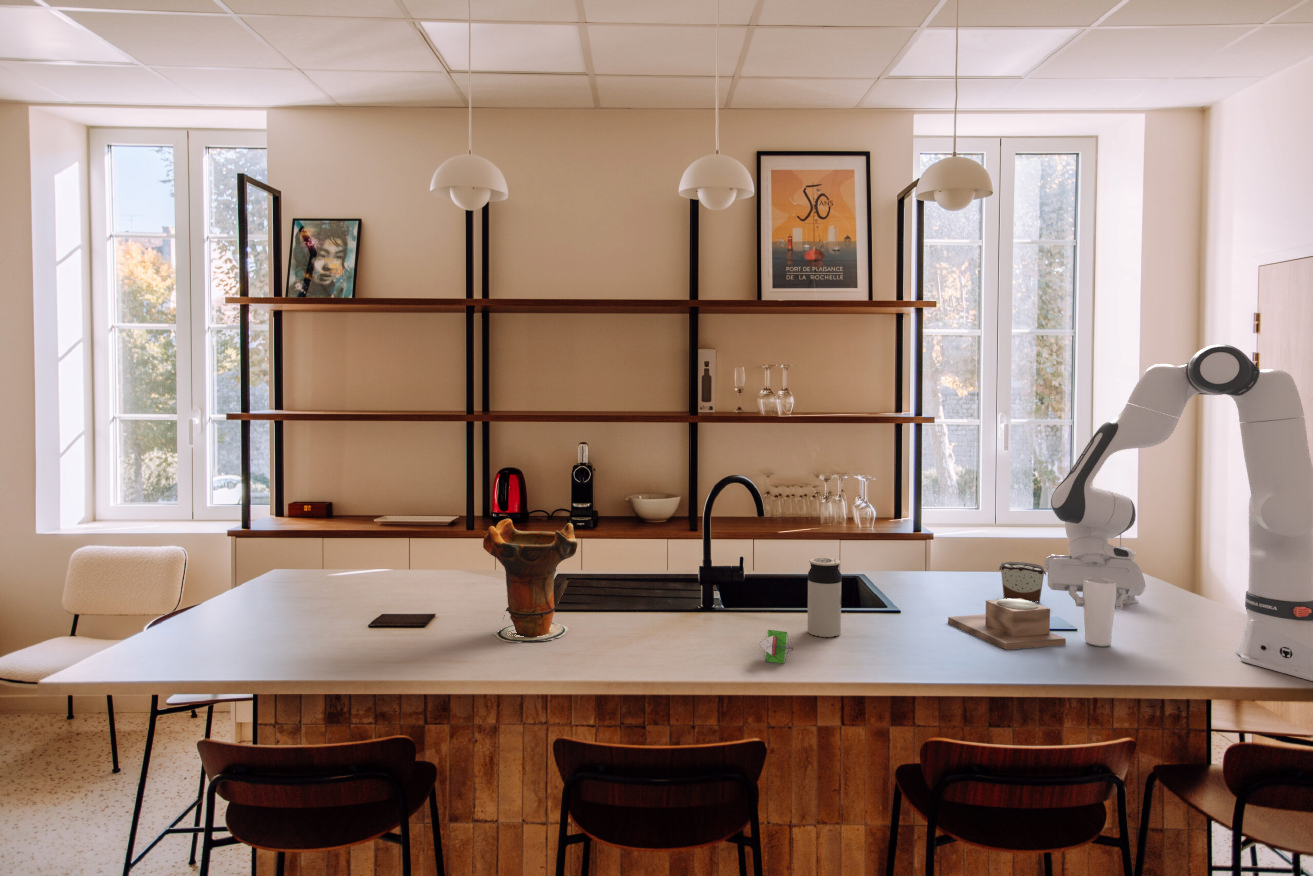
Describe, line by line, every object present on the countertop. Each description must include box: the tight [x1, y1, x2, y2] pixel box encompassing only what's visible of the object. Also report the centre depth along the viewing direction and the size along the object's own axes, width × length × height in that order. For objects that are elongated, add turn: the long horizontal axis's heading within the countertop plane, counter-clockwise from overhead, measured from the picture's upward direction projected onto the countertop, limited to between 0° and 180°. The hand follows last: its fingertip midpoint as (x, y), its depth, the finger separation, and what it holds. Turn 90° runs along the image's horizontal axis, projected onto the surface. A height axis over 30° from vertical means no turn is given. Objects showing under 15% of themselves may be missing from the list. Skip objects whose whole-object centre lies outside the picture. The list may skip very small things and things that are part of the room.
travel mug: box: [807, 557, 842, 638], centre depth 184 cm, size 8×8×18 cm
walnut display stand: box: [947, 598, 1067, 651], centre depth 184 cm, size 22×16×8 cm
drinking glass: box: [1082, 577, 1116, 648], centre depth 176 cm, size 7×7×15 cm
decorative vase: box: [482, 518, 579, 644], centre depth 185 cm, size 21×23×28 cm
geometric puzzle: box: [758, 628, 794, 665], centre depth 164 cm, size 7×7×8 cm
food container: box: [998, 561, 1047, 602], centre depth 218 cm, size 12×6×10 cm, turn 58°
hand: (1099, 606), depth 175 cm, fingers closed on drinking glass, 6 cm apart
